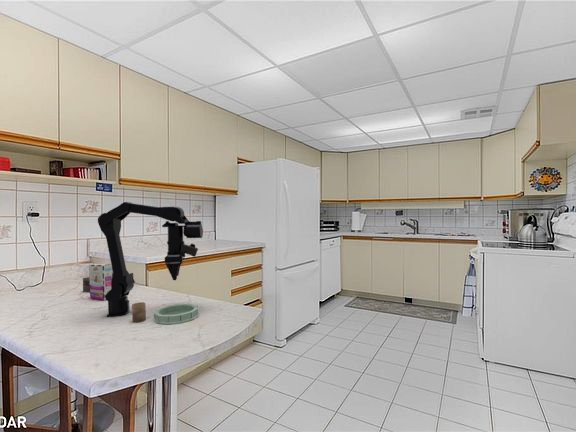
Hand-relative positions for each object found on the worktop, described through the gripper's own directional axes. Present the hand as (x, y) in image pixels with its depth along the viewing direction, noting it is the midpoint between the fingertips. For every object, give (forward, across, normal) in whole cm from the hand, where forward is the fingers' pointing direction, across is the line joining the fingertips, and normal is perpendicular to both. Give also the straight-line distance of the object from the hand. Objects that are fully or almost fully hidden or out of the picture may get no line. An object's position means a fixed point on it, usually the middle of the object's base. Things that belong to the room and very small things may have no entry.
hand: (175, 278), depth 126 cm
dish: (+13, -9, -1) cm, 16 cm away
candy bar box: (+14, +34, +36) cm, 52 cm away
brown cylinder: (+13, -8, +12) cm, 20 cm away
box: (+15, +56, +46) cm, 74 cm away
